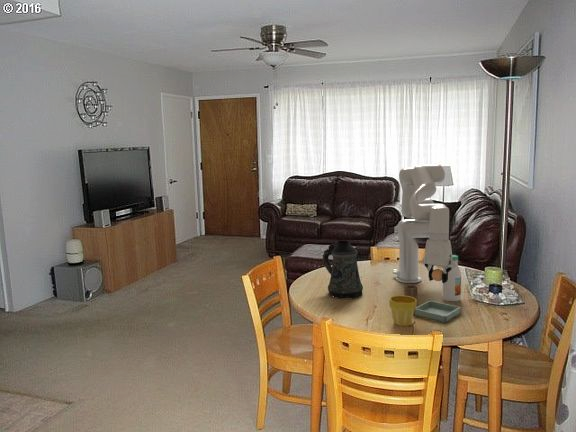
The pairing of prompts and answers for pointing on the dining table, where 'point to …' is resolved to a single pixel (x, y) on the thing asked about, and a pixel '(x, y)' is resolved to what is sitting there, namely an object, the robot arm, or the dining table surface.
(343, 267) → the beer stein
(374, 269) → the dining table surface
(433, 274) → the ball
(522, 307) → the dining table surface
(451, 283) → the milk bottle
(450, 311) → the tray
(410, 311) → the plant pot
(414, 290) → the wooden box
